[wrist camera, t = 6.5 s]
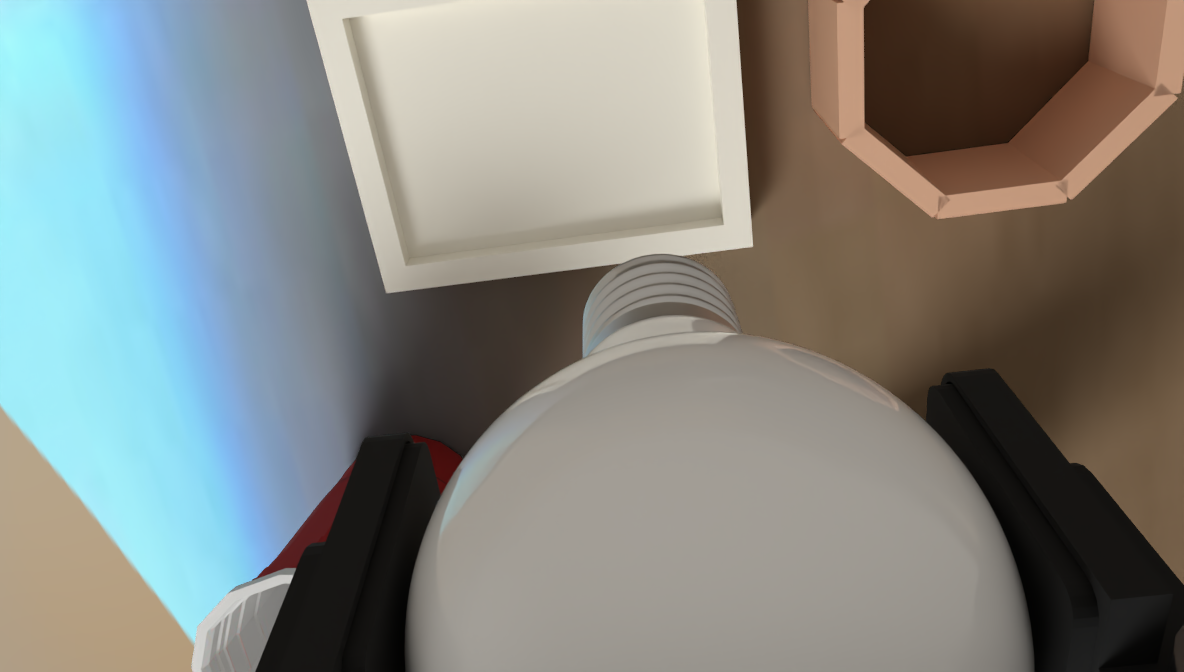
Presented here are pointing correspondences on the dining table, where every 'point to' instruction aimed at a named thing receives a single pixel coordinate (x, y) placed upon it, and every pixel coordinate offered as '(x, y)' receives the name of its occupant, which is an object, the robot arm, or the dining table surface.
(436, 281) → the tray
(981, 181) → the terracotta octagonal ring
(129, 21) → the dining table surface
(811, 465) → the lightbulb
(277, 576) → the plastic cup
